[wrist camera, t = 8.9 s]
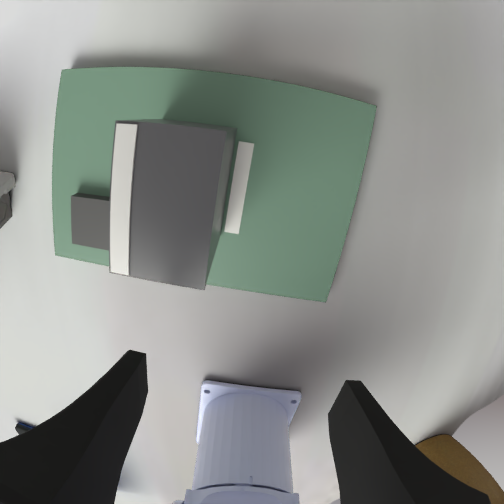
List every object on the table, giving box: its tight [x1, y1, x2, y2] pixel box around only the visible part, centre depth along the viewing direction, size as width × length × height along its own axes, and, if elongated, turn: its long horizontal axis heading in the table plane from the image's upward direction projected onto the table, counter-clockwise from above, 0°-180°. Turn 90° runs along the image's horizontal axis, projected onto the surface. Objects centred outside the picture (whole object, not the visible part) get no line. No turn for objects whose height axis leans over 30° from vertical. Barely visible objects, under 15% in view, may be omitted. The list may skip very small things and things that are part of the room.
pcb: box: [52, 67, 377, 302], centre depth 16 cm, size 12×18×4 cm, turn 80°
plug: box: [109, 119, 237, 290], centre depth 14 cm, size 6×4×6 cm, turn 170°
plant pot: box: [415, 434, 504, 504], centre depth 22 cm, size 15×15×16 cm
